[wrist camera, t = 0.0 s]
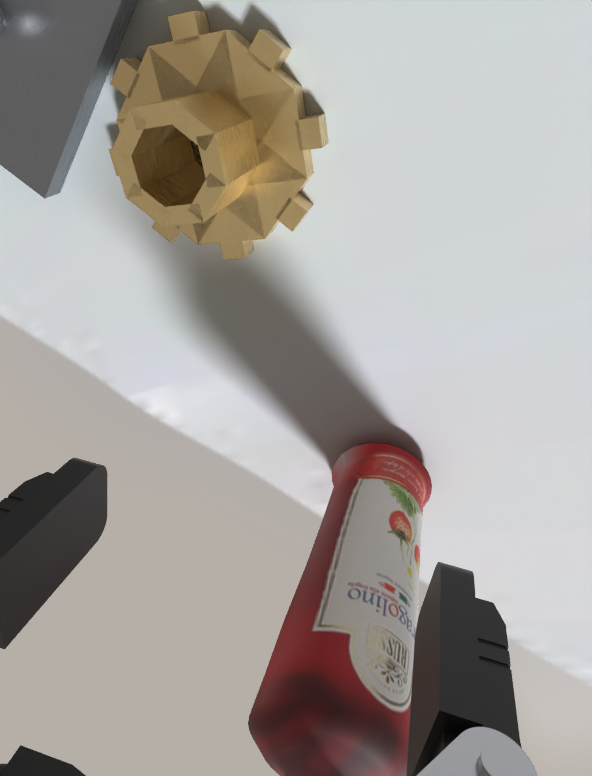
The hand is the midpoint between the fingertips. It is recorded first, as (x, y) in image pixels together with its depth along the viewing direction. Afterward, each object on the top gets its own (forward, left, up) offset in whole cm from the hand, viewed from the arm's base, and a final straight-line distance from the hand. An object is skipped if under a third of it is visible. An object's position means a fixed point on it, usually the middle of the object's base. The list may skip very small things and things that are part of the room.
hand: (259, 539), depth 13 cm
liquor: (+13, +11, -23) cm, 28 cm away
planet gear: (+2, -10, -22) cm, 25 cm away
